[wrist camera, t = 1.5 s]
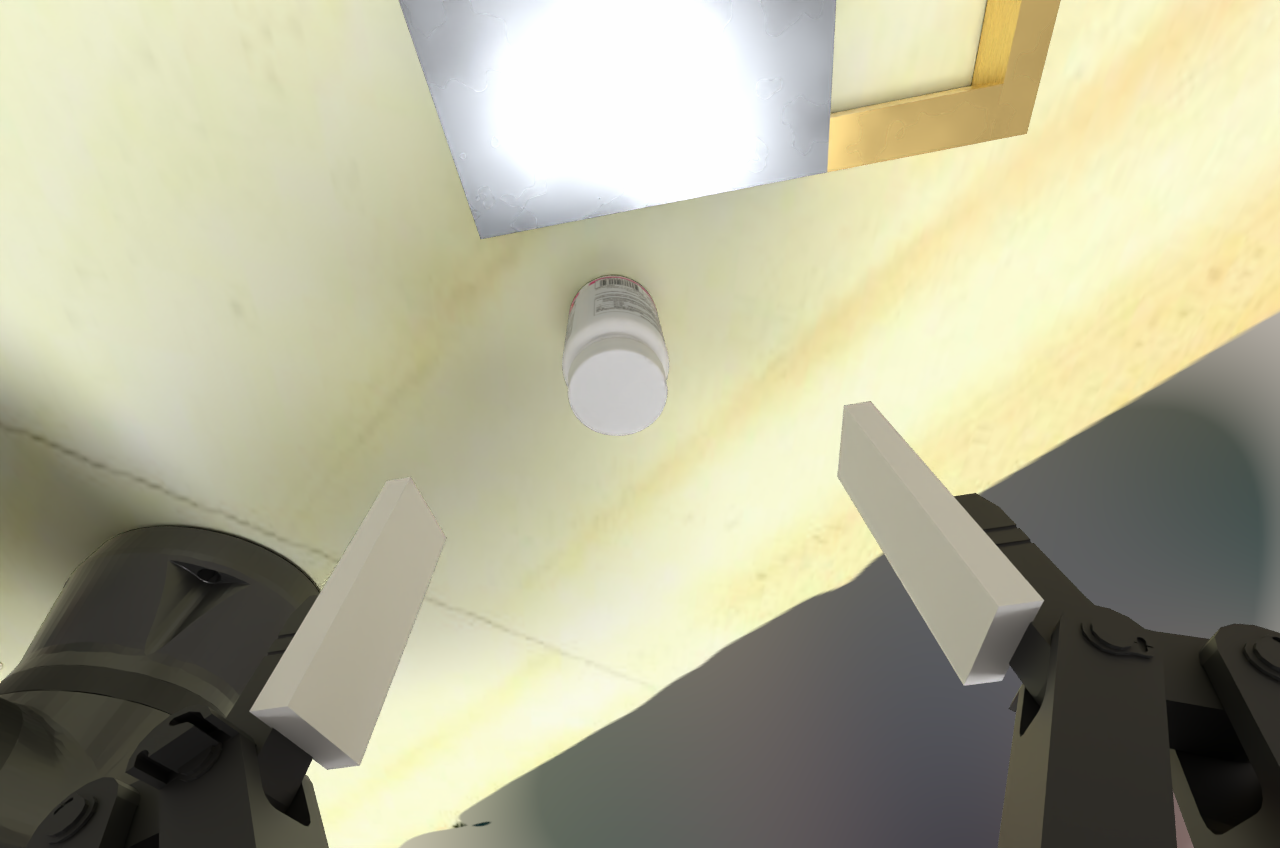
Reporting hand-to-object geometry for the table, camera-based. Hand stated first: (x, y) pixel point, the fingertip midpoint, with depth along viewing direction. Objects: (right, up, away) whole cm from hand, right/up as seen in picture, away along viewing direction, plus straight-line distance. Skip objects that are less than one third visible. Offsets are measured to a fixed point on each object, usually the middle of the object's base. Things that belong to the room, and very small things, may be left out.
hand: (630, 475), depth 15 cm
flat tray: (+4, +18, +5) cm, 19 cm away
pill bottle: (-1, +8, +11) cm, 14 cm away
